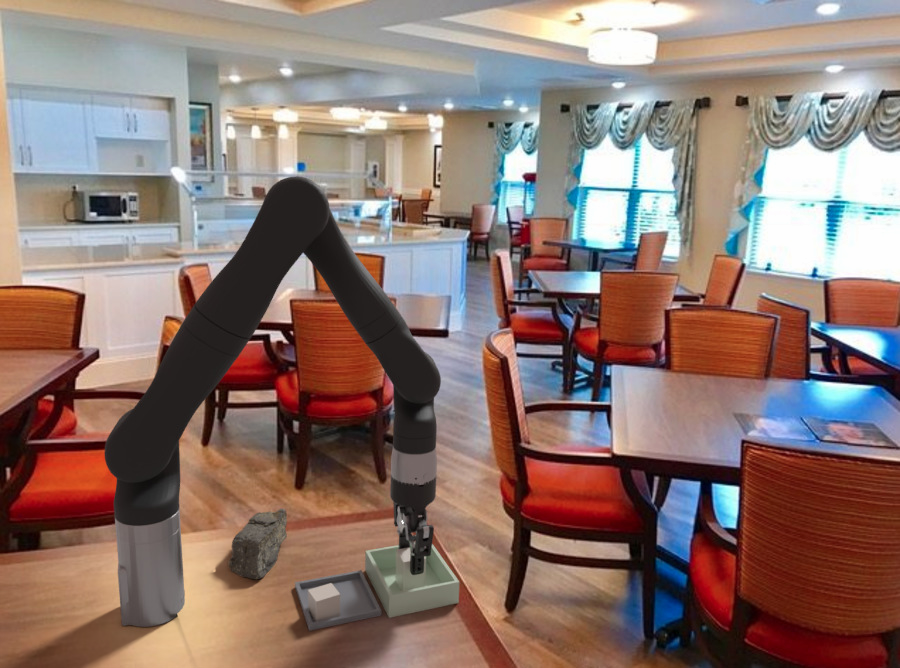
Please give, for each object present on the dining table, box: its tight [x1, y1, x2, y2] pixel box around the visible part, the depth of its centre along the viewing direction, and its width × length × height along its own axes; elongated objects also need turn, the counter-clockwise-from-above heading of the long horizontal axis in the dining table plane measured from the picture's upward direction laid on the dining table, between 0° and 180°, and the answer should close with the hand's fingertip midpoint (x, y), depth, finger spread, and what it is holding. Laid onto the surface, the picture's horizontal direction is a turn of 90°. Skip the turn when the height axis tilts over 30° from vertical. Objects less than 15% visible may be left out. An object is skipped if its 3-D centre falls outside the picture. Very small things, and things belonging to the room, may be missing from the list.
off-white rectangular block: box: [395, 547, 426, 591], centre depth 120 cm, size 4×4×6 cm
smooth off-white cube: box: [308, 583, 340, 622], centre depth 112 cm, size 4×4×4 cm
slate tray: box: [294, 569, 382, 632], centre depth 116 cm, size 12×12×2 cm
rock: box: [227, 508, 288, 580], centre depth 128 cm, size 17×7×10 cm
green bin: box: [364, 543, 460, 619], centre depth 121 cm, size 12×14×4 cm
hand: (410, 563), depth 120 cm, fingers open, 5 cm apart
